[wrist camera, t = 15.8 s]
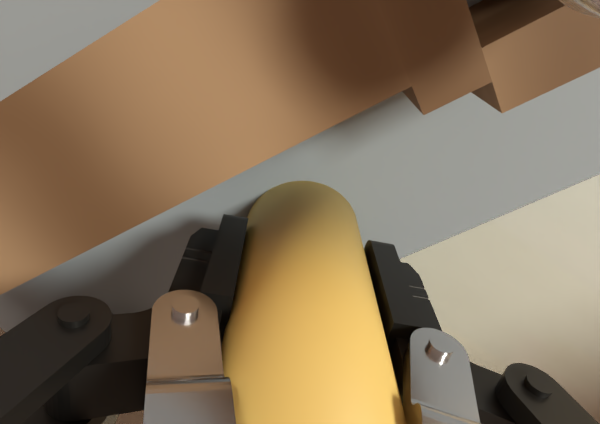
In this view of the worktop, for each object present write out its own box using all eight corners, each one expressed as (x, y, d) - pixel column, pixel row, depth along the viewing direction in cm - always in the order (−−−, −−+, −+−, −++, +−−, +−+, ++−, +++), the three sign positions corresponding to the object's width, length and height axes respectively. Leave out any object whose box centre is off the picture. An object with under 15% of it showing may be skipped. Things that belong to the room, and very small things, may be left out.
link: (587, -348, 8) (759, -538, 5) (635, -17, 11) (769, -13, 8) (-149, 146, 13) (-291, 201, 10) (11, 296, 15) (-60, 378, 12)
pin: (375, 251, 15) (469, 579, 7) (279, 291, 15) (262, 629, 7) (327, 160, 13) (375, 449, 5) (223, 211, 14) (128, 528, 6)
